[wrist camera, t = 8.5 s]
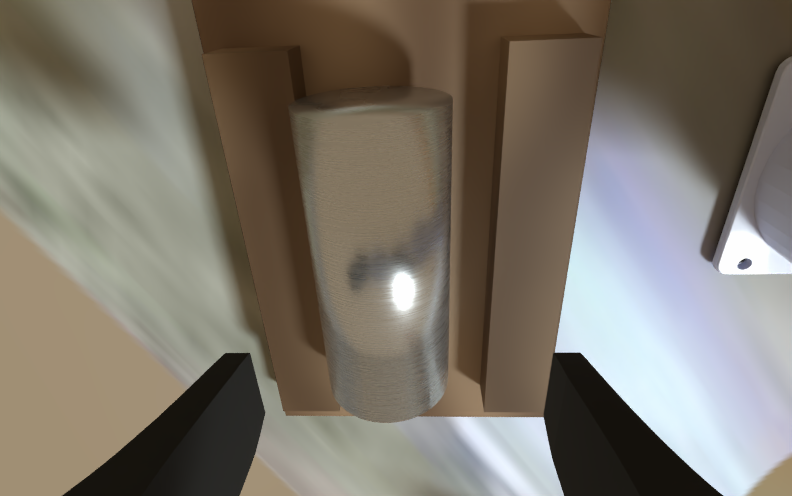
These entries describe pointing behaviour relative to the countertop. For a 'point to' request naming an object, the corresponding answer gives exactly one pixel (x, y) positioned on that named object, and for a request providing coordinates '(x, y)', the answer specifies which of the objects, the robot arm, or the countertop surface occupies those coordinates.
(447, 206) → the steel axle
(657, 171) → the countertop surface
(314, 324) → the cradle block
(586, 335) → the countertop surface
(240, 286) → the countertop surface
